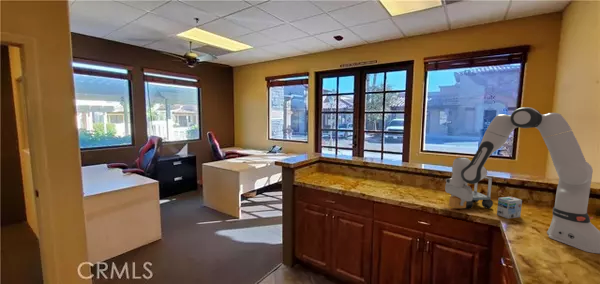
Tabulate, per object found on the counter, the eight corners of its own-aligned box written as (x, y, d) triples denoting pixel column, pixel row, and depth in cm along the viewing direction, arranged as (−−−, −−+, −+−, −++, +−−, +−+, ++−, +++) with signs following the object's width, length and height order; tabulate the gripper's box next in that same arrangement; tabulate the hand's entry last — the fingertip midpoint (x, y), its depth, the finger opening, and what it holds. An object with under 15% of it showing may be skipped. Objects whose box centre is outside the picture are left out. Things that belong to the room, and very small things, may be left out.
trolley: (492, 208, 170) (495, 177, 168) (464, 209, 167) (467, 178, 165) (476, 201, 183) (479, 173, 181) (450, 202, 180) (452, 173, 178)
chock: (465, 207, 166) (466, 198, 165) (454, 208, 165) (455, 199, 164) (460, 205, 171) (460, 196, 170) (448, 205, 170) (449, 196, 169)
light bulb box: (507, 218, 153) (509, 201, 152) (496, 214, 159) (497, 197, 158) (520, 217, 156) (522, 199, 155) (509, 213, 162) (511, 196, 161)
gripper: (476, 187, 156) (474, 209, 158) (452, 178, 176) (451, 198, 178) (466, 187, 155) (465, 209, 157) (444, 178, 176) (442, 198, 177)
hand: (457, 203), depth 168 cm, fingers closed on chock, 5 cm apart
